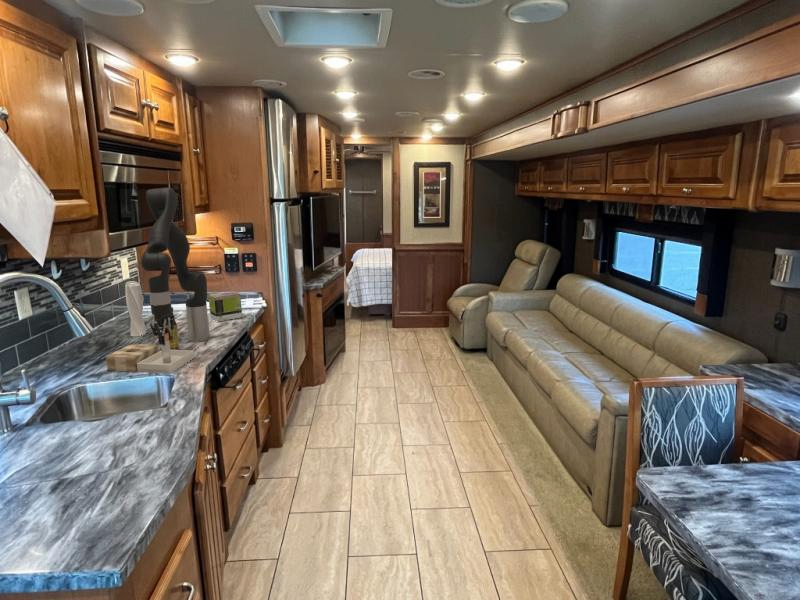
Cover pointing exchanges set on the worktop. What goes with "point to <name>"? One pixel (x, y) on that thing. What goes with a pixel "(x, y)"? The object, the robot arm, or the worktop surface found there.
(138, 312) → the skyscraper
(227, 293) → the tea box
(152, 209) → the robot arm
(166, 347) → the copper and grey cylinder
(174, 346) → the sauce bottle
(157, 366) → the tray
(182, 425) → the worktop surface
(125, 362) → the block
